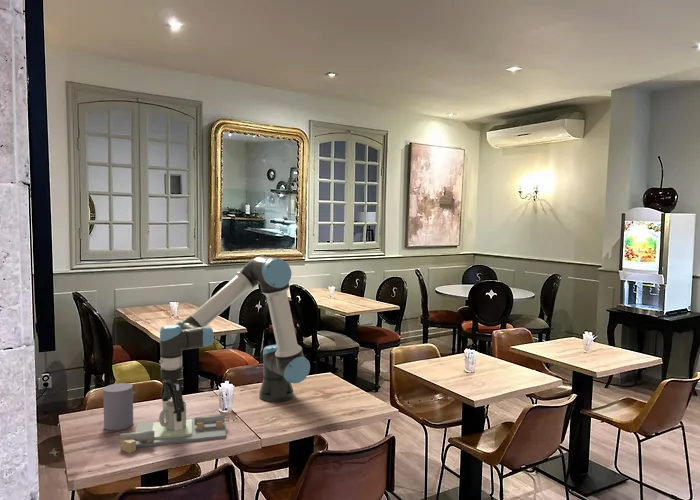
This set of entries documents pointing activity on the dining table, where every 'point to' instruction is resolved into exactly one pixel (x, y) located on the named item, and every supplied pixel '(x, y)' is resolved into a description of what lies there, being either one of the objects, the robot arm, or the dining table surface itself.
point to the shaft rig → (174, 433)
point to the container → (118, 406)
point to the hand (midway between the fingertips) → (172, 423)
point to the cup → (171, 416)
